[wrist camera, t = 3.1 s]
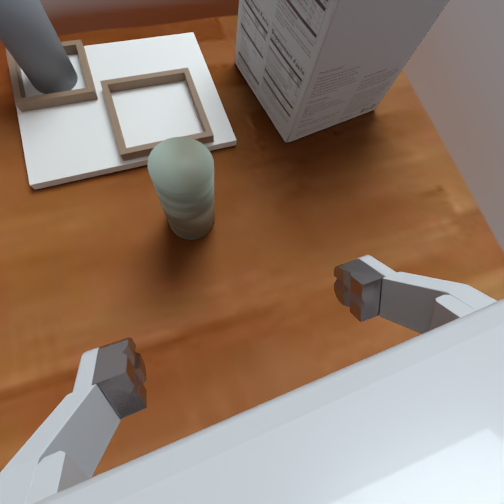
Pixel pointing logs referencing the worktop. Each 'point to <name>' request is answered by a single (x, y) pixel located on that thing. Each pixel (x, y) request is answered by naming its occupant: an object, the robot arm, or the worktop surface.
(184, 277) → the worktop surface
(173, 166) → the sage pin
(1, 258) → the worktop surface
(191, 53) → the board
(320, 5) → the supplement box
